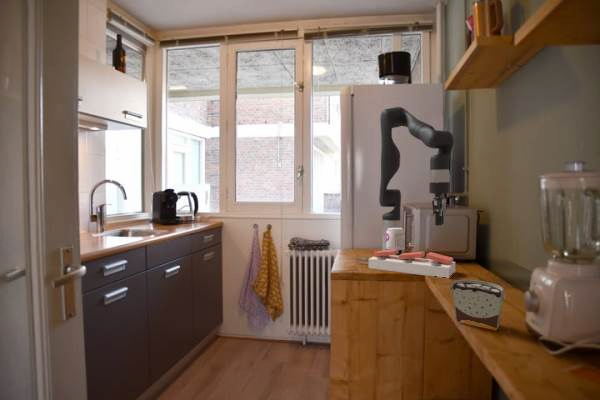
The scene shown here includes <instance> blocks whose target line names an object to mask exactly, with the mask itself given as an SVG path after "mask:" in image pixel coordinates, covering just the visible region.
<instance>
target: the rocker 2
mask: <svg viewBox="0 0 600 400" xmlns="http://www.w3.org/2000/svg"><path fill="white" fill-rule="evenodd" d="M425 259H430V260H434V261H438V262H441V263H445V264H449V265H450V264H451V263H452V262H454V257H451V256H447V255H443V254H441V253H440V254H439V253H437V252H436V253H435V252H431V251H429V252H428V253H425Z"/></svg>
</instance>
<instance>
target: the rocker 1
mask: <svg viewBox="0 0 600 400" xmlns="http://www.w3.org/2000/svg"><path fill="white" fill-rule="evenodd" d="M398 253H399V250H398V249H395V250H383V251H382V250H378V251H376V252H373V257H377V256H389V255H395V254H398Z"/></svg>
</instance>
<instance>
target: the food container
mask: <svg viewBox="0 0 600 400" xmlns="http://www.w3.org/2000/svg"><path fill="white" fill-rule="evenodd" d="M449 290H450V291H452V298H453V308H454V316H455V318H454V319H455V323H458V324H461V323H460V321H461V320H470V321H474V322H477V323H483V324H486V325H489V326H492V327H495V328H498V327H499V326H500V319H501V313H502V312H501V311H502V309H501V308H502V304H503V300H506V295H505V290H504V288H503V287H502V286H501V285H498V284H496V283H492V282H487V281H481V280H473V279H460V280H459V279H458V280H454V281H451V284H450V286H449ZM498 329H499V328H498Z"/></svg>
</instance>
